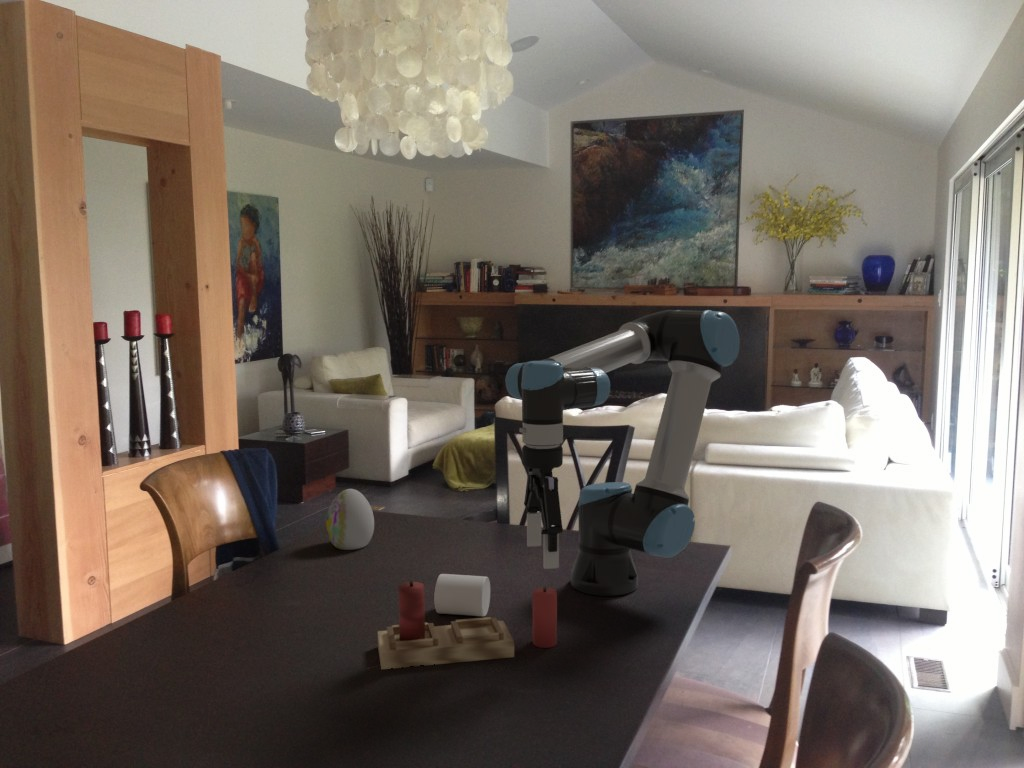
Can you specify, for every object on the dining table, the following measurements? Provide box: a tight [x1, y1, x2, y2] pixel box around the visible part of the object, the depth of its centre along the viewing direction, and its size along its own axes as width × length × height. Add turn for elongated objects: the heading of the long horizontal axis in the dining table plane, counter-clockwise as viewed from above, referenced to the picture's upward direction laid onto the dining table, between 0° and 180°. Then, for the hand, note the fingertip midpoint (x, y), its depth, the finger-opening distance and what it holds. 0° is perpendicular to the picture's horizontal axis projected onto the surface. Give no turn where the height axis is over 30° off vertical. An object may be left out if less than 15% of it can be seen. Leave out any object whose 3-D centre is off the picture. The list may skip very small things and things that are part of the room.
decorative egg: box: [325, 488, 375, 551], centre depth 225 cm, size 12×12×15 cm
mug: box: [433, 573, 491, 618], centre depth 181 cm, size 12×10×8 cm
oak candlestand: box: [377, 580, 515, 670], centre depth 160 cm, size 24×10×14 cm, turn 102°
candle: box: [532, 586, 558, 649], centre depth 164 cm, size 5×5×11 cm
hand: (542, 556), depth 163 cm, fingers open, 13 cm apart
